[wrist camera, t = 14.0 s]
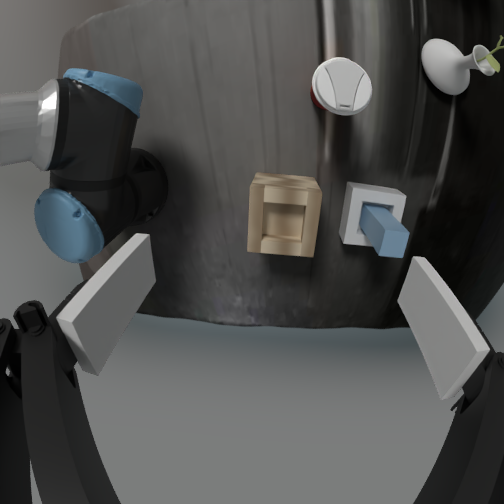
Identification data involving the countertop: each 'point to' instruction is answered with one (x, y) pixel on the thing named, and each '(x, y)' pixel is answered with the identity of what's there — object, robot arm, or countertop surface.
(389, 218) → the plug
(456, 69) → the flower in vase
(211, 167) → the countertop surface
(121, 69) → the countertop surface
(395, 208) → the block
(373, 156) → the countertop surface
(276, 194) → the block
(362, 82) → the paper cup
